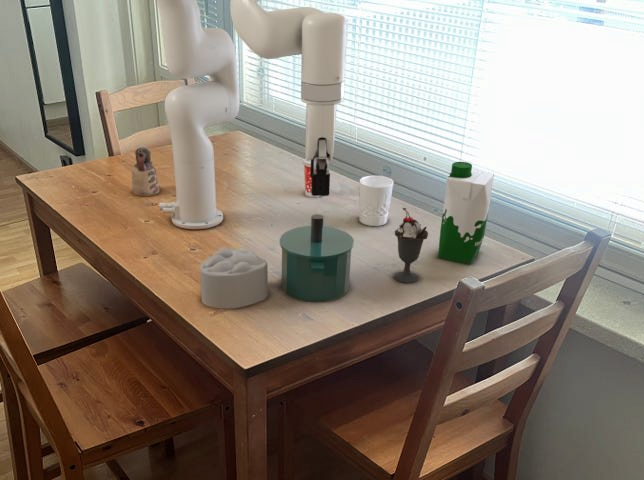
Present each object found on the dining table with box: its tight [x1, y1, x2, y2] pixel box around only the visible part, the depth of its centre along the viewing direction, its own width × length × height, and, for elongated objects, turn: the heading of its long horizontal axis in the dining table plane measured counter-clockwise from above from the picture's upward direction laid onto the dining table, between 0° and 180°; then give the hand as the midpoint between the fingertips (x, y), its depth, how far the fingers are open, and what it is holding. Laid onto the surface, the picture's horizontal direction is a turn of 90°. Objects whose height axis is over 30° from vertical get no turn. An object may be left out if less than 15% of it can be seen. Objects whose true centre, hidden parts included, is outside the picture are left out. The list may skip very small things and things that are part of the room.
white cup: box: [358, 175, 394, 227], centre depth 172 cm, size 8×8×10 cm
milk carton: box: [437, 161, 495, 265], centre depth 153 cm, size 9×9×20 cm
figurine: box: [131, 146, 160, 197], centre depth 190 cm, size 7×7×12 cm
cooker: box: [281, 248, 352, 303], centre depth 145 cm, size 14×19×10 cm
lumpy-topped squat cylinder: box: [199, 247, 269, 310], centre depth 142 cm, size 10×13×9 cm
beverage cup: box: [302, 157, 320, 198], centre depth 187 cm, size 6×6×14 cm
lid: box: [279, 213, 355, 259], centre depth 141 cm, size 15×15×6 cm
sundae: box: [393, 207, 429, 284], centre depth 146 cm, size 7×7×15 cm
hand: (319, 185), depth 135 cm, fingers open, 9 cm apart
